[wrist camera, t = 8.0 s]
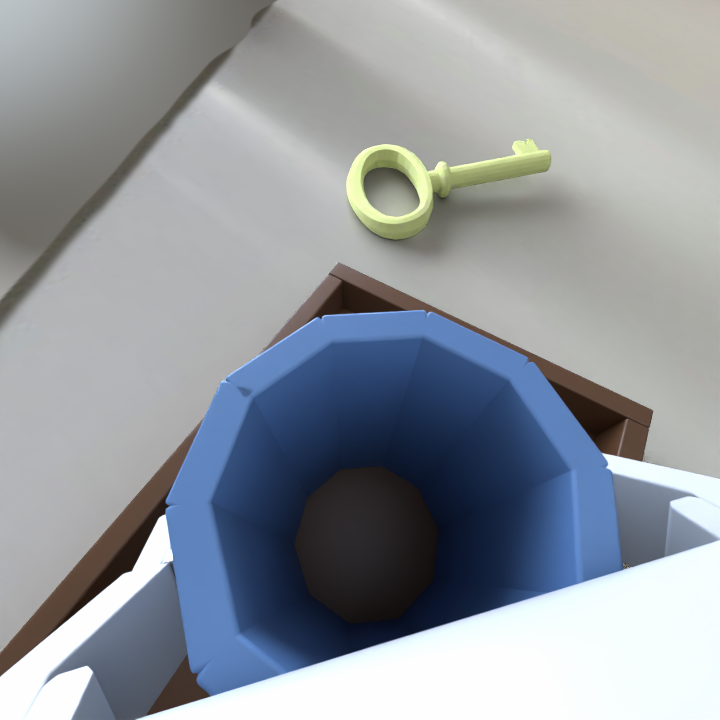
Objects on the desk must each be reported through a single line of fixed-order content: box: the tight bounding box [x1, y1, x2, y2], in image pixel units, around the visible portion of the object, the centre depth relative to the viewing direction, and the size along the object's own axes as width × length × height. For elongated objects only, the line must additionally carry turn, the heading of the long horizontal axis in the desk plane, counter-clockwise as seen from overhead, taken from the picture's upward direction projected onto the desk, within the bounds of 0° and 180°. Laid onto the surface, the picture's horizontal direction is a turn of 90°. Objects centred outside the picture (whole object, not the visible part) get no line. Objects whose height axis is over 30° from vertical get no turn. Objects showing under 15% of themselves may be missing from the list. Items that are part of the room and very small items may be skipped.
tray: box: [0, 262, 653, 716], centre depth 12 cm, size 18×14×2 cm
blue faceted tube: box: [165, 310, 623, 696], centre depth 9 cm, size 6×6×9 cm
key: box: [347, 139, 551, 240], centre depth 23 cm, size 7×12×2 cm, turn 119°
